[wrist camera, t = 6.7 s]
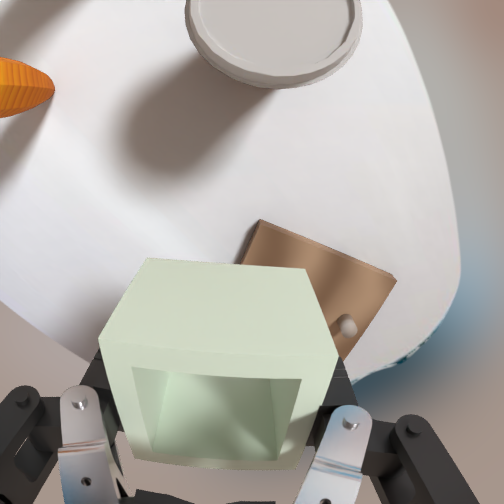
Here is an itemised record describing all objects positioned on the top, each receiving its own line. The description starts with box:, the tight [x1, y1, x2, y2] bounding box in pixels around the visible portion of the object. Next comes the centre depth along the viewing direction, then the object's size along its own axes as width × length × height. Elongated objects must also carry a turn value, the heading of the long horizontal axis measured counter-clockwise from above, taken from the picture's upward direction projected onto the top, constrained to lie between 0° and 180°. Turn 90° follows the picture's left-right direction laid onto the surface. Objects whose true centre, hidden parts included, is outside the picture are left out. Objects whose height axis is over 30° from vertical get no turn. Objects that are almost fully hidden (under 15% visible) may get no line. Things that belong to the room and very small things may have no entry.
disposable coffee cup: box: [185, 0, 363, 89], centre depth 17 cm, size 10×10×12 cm
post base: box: [240, 219, 397, 361], centre depth 29 cm, size 15×12×6 cm
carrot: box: [0, 57, 55, 118], centre depth 16 cm, size 5×5×15 cm
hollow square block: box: [98, 258, 339, 470], centre depth 12 cm, size 14×6×5 cm, turn 175°
